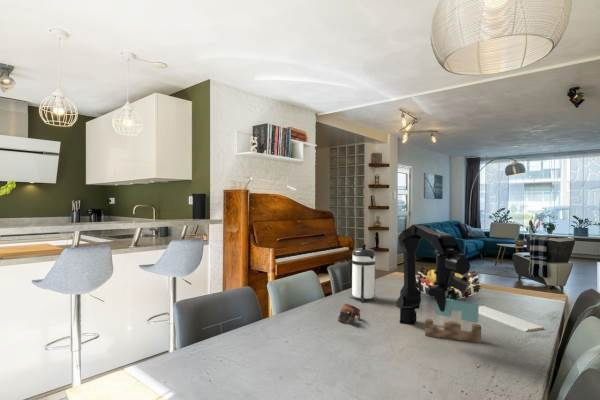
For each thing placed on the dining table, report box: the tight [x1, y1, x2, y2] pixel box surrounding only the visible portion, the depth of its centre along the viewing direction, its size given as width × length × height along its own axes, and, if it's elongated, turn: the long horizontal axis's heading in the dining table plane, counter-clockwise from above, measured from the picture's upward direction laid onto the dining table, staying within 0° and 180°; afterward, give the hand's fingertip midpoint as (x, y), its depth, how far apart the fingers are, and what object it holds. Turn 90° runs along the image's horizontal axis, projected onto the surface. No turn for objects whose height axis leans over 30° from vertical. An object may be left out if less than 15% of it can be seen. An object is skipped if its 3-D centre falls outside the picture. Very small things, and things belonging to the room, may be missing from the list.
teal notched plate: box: [435, 298, 480, 324], centre depth 126 cm, size 14×2×6 cm, turn 51°
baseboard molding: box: [478, 303, 544, 333], centre depth 160 cm, size 31×3×12 cm
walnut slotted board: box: [424, 318, 482, 344], centre depth 136 cm, size 20×2×6 cm, turn 71°
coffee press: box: [347, 243, 378, 303], centre depth 190 cm, size 17×16×30 cm
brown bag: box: [337, 303, 361, 325], centre depth 153 cm, size 12×10×8 cm
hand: (443, 310), depth 129 cm, fingers closed on teal notched plate, 2 cm apart
